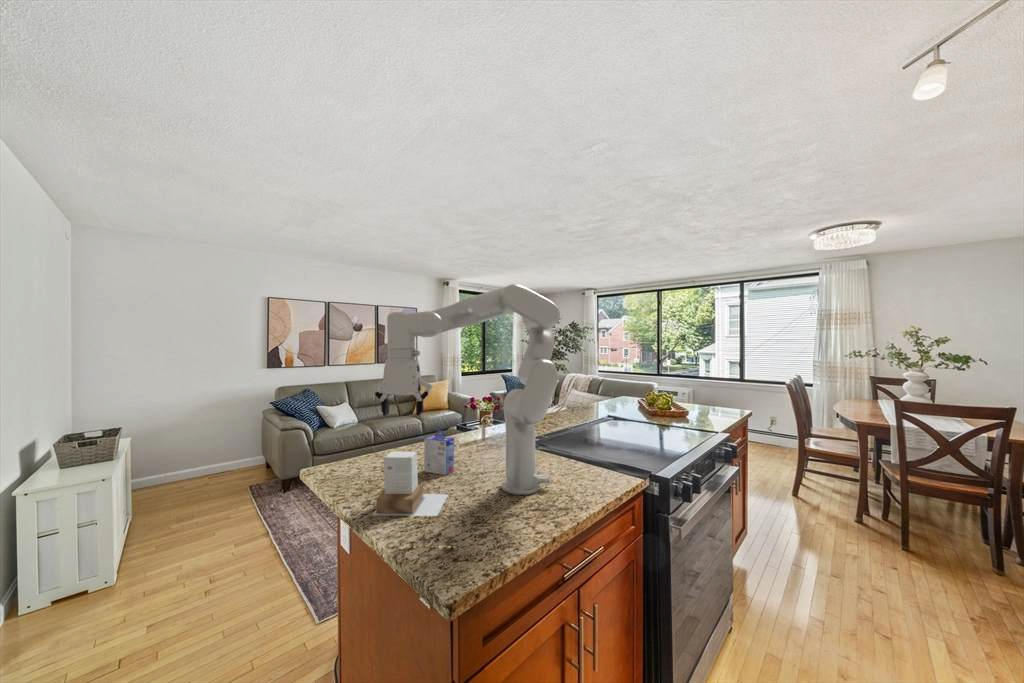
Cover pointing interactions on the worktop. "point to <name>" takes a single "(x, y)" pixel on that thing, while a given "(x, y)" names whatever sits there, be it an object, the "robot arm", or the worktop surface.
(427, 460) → the ink cartridge box
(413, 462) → the small box
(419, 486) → the base slab
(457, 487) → the worktop surface
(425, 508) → the white rectangular board
